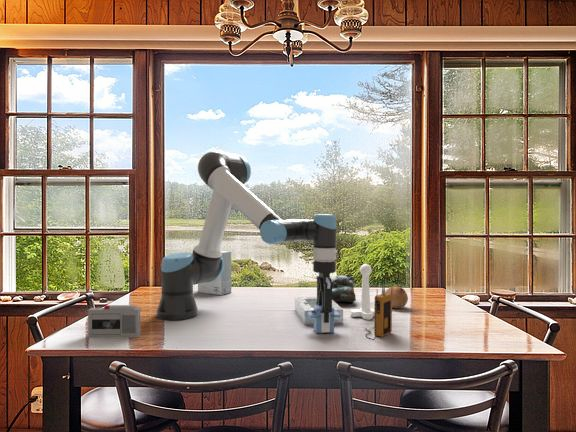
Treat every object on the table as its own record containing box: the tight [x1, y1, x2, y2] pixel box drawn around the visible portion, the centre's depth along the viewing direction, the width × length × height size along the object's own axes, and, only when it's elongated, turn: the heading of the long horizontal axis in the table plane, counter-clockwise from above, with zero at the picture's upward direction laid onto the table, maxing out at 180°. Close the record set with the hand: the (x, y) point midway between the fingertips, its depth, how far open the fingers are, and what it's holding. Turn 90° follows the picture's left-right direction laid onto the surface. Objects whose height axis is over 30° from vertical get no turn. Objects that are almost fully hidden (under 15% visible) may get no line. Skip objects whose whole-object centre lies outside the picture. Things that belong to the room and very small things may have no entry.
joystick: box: [350, 263, 374, 320], centre depth 162 cm, size 11×8×20 cm
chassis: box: [294, 296, 344, 326], centre depth 163 cm, size 14×22×5 cm, turn 8°
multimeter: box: [363, 272, 393, 341], centre depth 143 cm, size 15×10×20 cm
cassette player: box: [87, 304, 142, 339], centre depth 138 cm, size 16×3×10 cm, turn 92°
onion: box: [385, 286, 409, 309], centre depth 177 cm, size 10×9×10 cm
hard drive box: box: [197, 250, 232, 296], centre depth 207 cm, size 16×8×20 cm, turn 58°
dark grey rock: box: [331, 274, 357, 303], centre depth 188 cm, size 15×12×14 cm
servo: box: [308, 305, 340, 334], centre depth 143 cm, size 10×4×9 cm, turn 98°
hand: (323, 329), depth 144 cm, fingers closed on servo, 4 cm apart
